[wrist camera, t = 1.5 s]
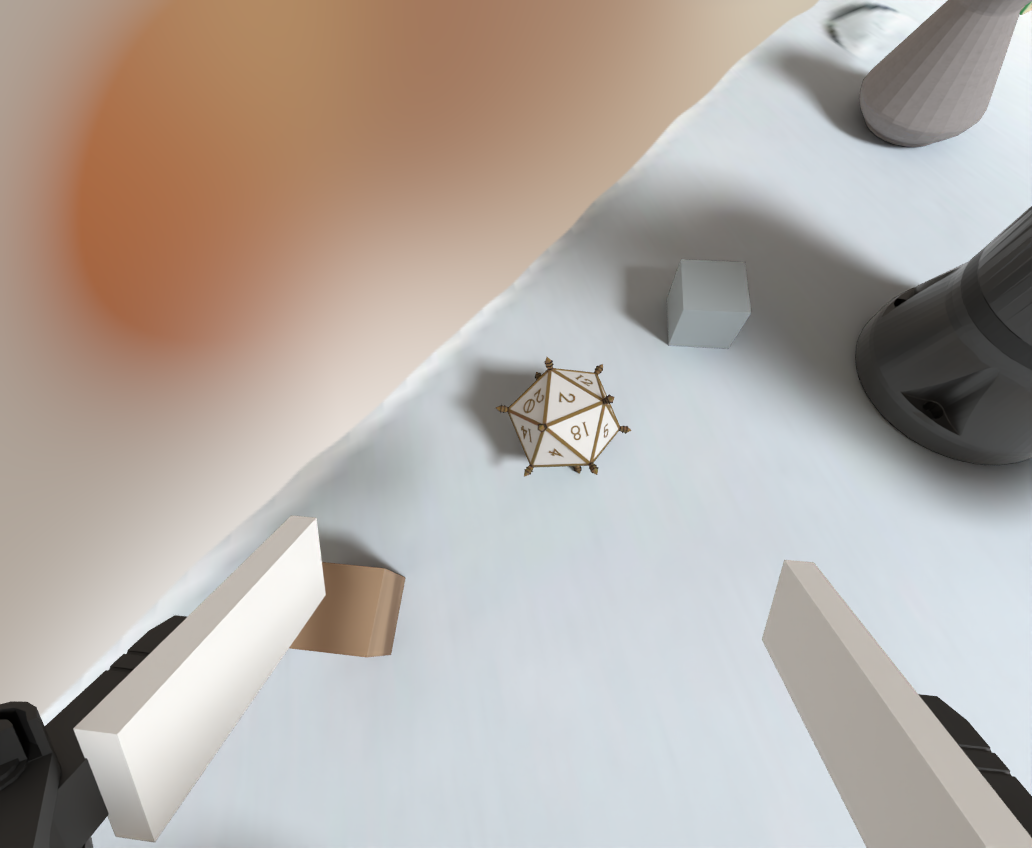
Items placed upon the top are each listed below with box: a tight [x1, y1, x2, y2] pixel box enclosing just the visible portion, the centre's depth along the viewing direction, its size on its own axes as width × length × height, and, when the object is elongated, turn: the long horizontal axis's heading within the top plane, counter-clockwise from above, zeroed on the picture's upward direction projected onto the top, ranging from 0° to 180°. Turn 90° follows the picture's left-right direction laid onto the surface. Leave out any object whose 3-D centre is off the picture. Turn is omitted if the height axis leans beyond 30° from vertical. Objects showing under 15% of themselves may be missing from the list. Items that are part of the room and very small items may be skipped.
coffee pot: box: [859, 0, 1032, 147], centre depth 45 cm, size 21×12×15 cm, turn 133°
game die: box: [496, 357, 631, 476], centre depth 34 cm, size 9×8×10 cm
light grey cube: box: [667, 259, 751, 349], centre depth 40 cm, size 5×5×5 cm
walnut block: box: [289, 562, 405, 657], centre depth 31 cm, size 5×5×5 cm
